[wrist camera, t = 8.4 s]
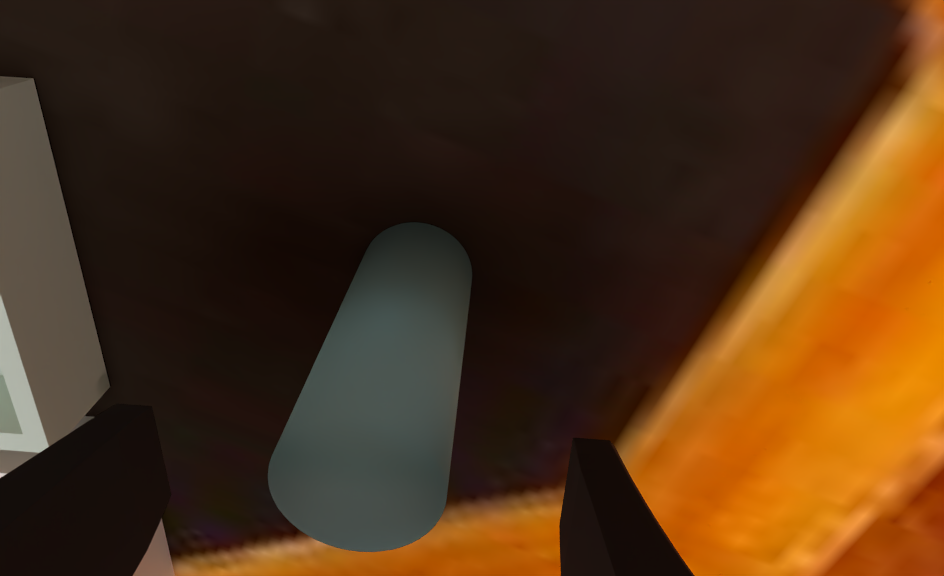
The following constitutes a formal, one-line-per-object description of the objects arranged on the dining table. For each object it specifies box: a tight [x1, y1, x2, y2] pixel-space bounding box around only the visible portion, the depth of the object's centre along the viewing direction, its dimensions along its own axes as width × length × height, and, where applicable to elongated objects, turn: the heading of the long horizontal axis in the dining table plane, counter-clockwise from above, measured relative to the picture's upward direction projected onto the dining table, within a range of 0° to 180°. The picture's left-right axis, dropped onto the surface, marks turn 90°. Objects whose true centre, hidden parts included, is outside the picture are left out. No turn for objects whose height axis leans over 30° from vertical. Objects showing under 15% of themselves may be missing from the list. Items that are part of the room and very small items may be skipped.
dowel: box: [268, 222, 472, 552], centre depth 15 cm, size 3×3×8 cm
